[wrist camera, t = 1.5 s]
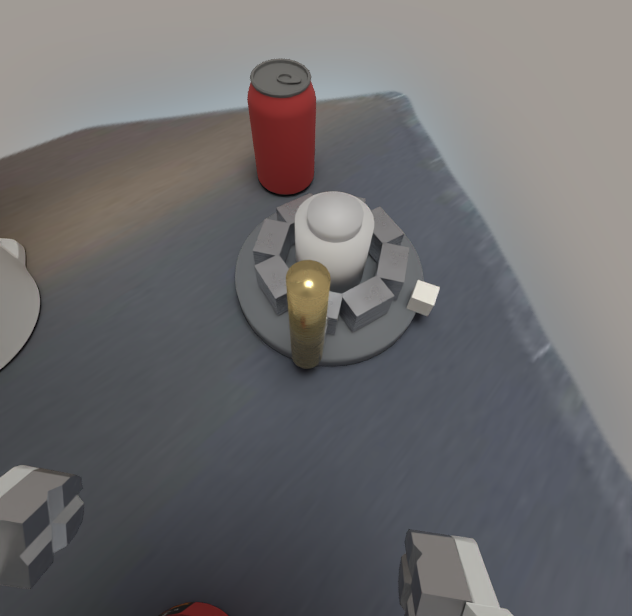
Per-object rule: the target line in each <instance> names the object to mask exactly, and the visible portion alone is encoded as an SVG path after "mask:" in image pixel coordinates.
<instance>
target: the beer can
mask: <svg viewBox="0 0 632 616" xmlns="http://www.w3.org/2000/svg"><path fill="white" fill-rule="evenodd" d="M250 79H251V83H250V87H249V91H248V99H247V100H248V107H249V115H250V122H251V130H252V137H253V144H254V152H255V159H256V167H257V174H258V179H259V181H260V182H261V184H262V185H263V187H265V188H266V189H268V190H269V191H271V192H274V193H277V194H283V195H289V194H295V193H298V192H300V191H302V190H304V189H305V188H306V187H308V186H309V185H310V183H311V181H312V180H313V176H314V155H315V119H316V96H315V91H314V89H313V85H312V83H311V75H310V72H309V70H308V69H307V68H306V67H305V66H304V65H302V64H300V63H298V62H296V61H293V60H289V59H271V60H268V61H265V62H262V63H261V64H259V65H257V66H256V67H255V68H254V69H253V71H252V72H251V75H250Z"/></svg>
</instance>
